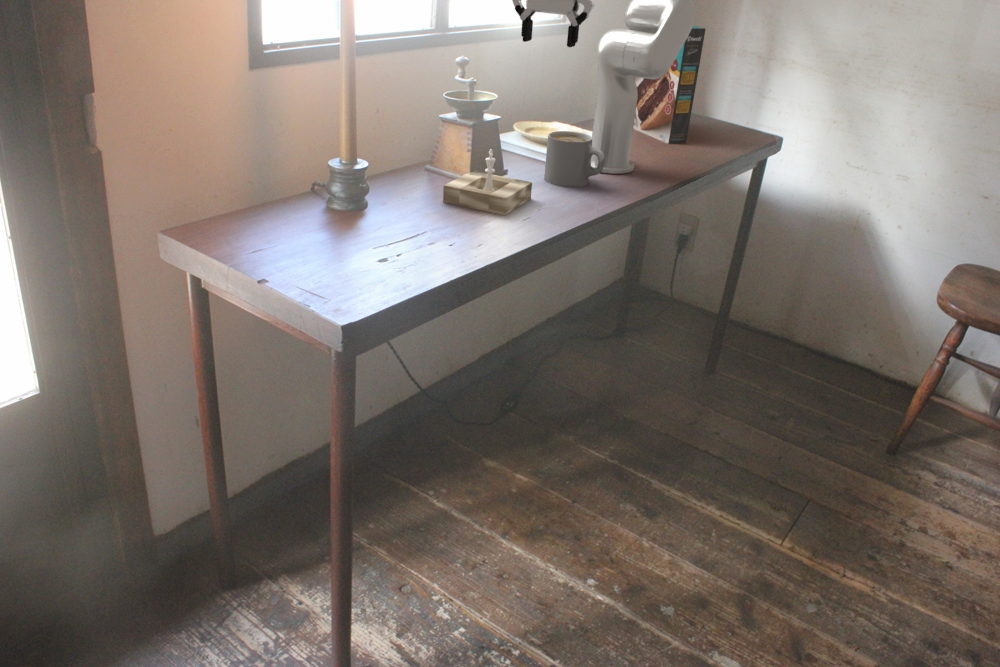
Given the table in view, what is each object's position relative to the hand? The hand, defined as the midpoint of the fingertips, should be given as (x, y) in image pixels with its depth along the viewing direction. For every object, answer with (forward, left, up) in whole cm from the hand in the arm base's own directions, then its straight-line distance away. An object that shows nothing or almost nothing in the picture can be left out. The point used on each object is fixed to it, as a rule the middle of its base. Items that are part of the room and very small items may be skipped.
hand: (548, 43), depth 160 cm
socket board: (+14, -5, -30) cm, 34 cm away
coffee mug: (-9, +5, -30) cm, 32 cm away
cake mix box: (-69, +8, -30) cm, 76 cm away
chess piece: (+14, -5, -30) cm, 33 cm away
